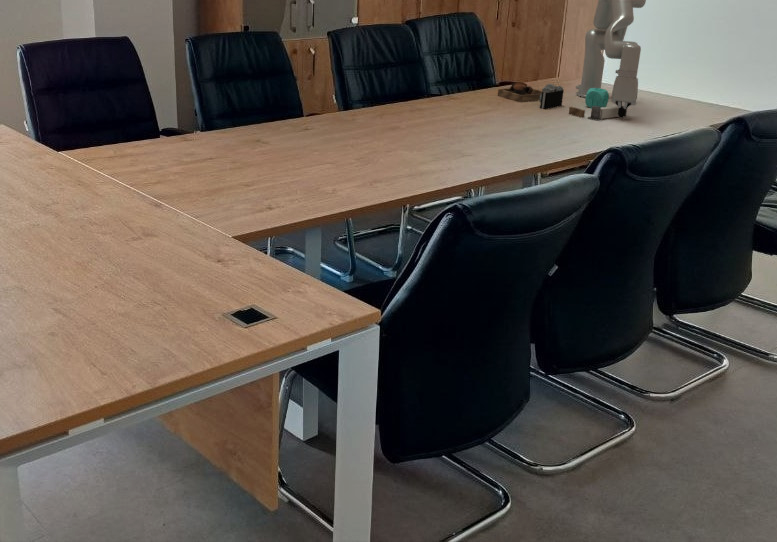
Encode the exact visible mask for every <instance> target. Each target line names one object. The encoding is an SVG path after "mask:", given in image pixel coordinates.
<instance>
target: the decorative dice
mask: <svg viewBox="0 0 777 542" xmlns="http://www.w3.org/2000/svg"><path fill="white" fill-rule="evenodd" d="M609 96H610V93H609V91H608V90H607V89H605V88H601V89H600V88H590V89H589V90H588V92H587V94H586V98H585V99H584V100H585V105H586V107H587V106H588V107H587V108H589V107H590V109H592V106H599V107H607V105H608V102H609V98H610V97H609Z"/></svg>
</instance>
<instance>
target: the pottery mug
mask: <svg viewBox="0 0 777 542" xmlns="http://www.w3.org/2000/svg"><path fill="white" fill-rule="evenodd" d="M509 88H510V90H512V91H514V92H515V93H516V94H519V95H529V94H531V93H532V91H533V89H534V88H533V87H532V86H528V84H527V83H526V82H520V81H518V82H517V81H515V82H512V83H511V85H510V86H509ZM523 88H524V89H523ZM510 90H509V91H510Z"/></svg>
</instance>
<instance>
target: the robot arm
mask: <svg viewBox="0 0 777 542" xmlns="http://www.w3.org/2000/svg"><path fill="white" fill-rule="evenodd" d="M646 1H647V0H598V2H597V5H596V9H595V11H594V12H595V13H594V16H593V21H592V22H593V23H592V24H593V26H594V28H591V29H589V30H587V31H586V33H585V37H584V59H583V66H582V75H581V81H580V84H577V85H576V86H575V89H577V90H578V91H576V96H578V97H580V96H581V98H585V99H586V94H587V92H588V90H589V89H590V88H600V89H602V81H603V75H604V68H605V61H606V59H605V56H606V57H607V58H608V59H612V60H615V59H616V60H620V62H619V67H618V68H619V69H616V70H615V74H617V76H615V79H614V82H613V86H612V92H611V97H610V98H611V99H610V102H611V103H614V104H615V106H618V108H619V110H618V115H619V117H618V119H619V118H621V119H623V118H624V117H626V116H627V113H626V108H627V109H628V108H629V107H630V106H636V105H637V100H638V93H639V92H638V91H639V90H638V89H639V78H638V77H637V76H638V70H639V64H640V57H641V52H642V49H641V48H642V47H641V45H639V44H638V42H636V41H628V40H627V41H626V40H624V39H625V37H626V32H627V30H628V27H629V26H631V25H632V24H633V23H634V19H635V17H634V9H635V8H636V9H641V8H643V7H644V6H645V4H646ZM601 51H604V52H605V56H604V55H603V54H602V52H601ZM623 103H624V105H623ZM623 106H624V107H623ZM625 115H626V116H625Z"/></svg>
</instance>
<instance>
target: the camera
mask: <svg viewBox="0 0 777 542" xmlns="http://www.w3.org/2000/svg"><path fill="white" fill-rule="evenodd" d="M564 90H565V89H564V87H562V86H561V85H558V86H557V85H555V84H552V83H548V84H546V85H545V86H544V87H542V90H541V91H542V94H541V95H540V97H539V101H538V102H540V105H539V108H540V109H542V108H543V110H547V109H548V108H549V109H554V108H558V107H557V106H559V107H562V106H563V98H564V92H565V91H564ZM553 107H554V108H553ZM549 109H548V110H549Z"/></svg>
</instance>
